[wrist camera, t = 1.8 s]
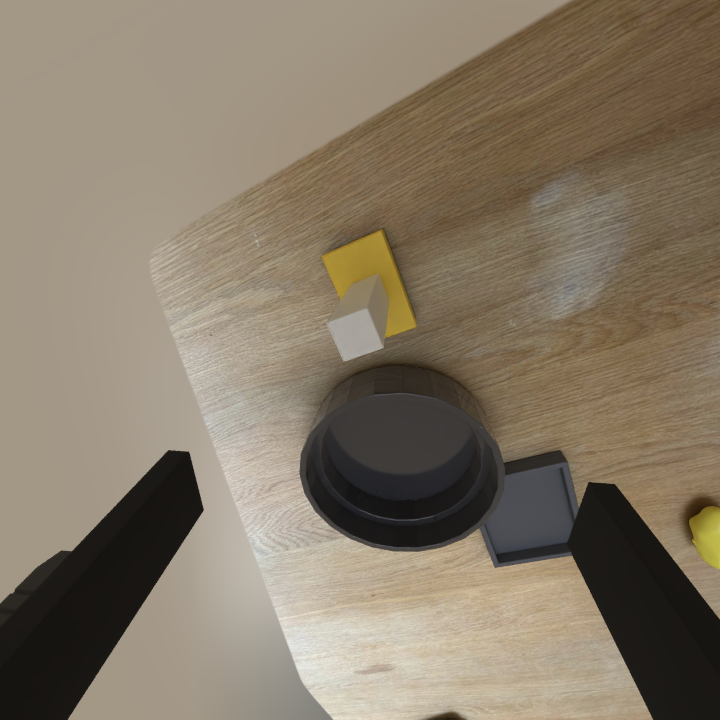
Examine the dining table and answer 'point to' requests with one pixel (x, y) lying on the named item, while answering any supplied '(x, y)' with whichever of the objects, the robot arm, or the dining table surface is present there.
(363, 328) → the sponge brush
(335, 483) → the bowl
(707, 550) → the yellow potato
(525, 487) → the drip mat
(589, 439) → the dining table surface
